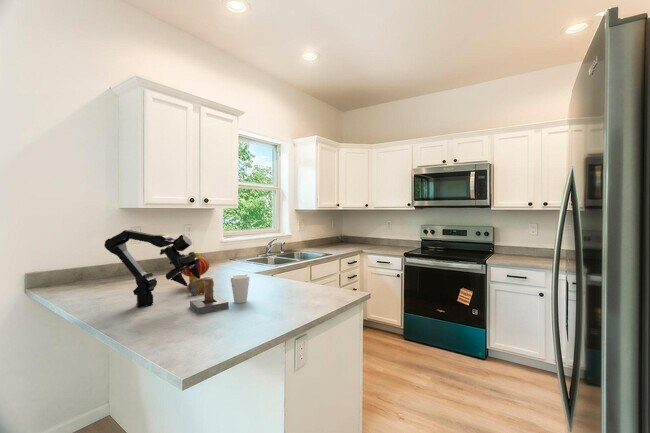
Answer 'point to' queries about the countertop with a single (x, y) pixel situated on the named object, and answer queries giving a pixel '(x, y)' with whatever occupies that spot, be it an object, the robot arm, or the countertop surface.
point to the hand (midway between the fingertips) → (193, 282)
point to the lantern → (202, 268)
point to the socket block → (209, 305)
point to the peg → (208, 290)
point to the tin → (197, 286)
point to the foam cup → (240, 287)
